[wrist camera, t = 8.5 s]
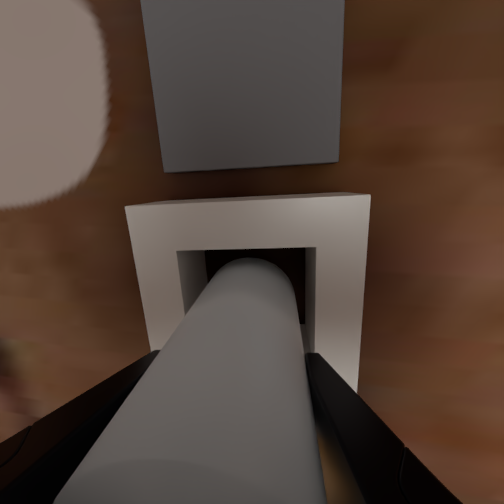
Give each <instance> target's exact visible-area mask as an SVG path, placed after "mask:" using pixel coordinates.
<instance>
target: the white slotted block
mask: <svg viewBox="0 0 504 504" xmlns="http://www.w3.org/2000/svg"><path fill="white" fill-rule="evenodd" d="M370 200H371V195H369V194H359V193H349V192H331V193H311V194H290V195H270V196H250V197H229V198H209V199H188V200H168V201H159V202H152V203H145V204H138V205H131V206H125V211H126V217H127V222H128V228H129V233H130V239H131V244H132V250H133V255H134V261H135V266H136V272H137V277H138V283H139V288H140V294H141V299H142V305H143V310H144V316H145V321H146V327H147V332H148V337H149V343H150V348H151V352H152V351H154V350H161V349H162V348H163V346H164V345H165V344H166V342H167V341H168V339H169V338H170V337H171V335H172V334H173V332H174V331H175V329H176V328H177V327H178V325H179V324H180V322H181V321H182V320H183V318H184V317H185V315H186V314H187V313H188V311H189V310H190V308H191V307H192V306H193V304H194V303H195V301H196V300H197V299H198V297H199V296H200V294H201V293H202V291H203V290H204V289H205V287H206V286H207V284H208V281H207V271H206V261H205V252H204V250H221V249H259V248H298V247H305V324H300V330H301V336H302V342H303V349H304V355H305V354H306V353H307V352H309V353H319V354H320V355H321V356H322V357H323V358H324V359H325V360H326V361H327V362H328V363H329V364H330V365H331V366H332V368H333V369H334V370H335V371H336V372H337V373H338V374H339V375H340V376H341V377H342V378H343V379H344V380H345V381H346V382H347V384H348V385H349V386H350V387H351V388H352V389H353V390H354V391H355V392H356V393H357V383H358V369H359V355H360V341H361V327H362V313H363V299H364V285H365V271H366V257H367V243H368V229H369V214H370Z"/></svg>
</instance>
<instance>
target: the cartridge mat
mask: <svg viewBox="0 0 504 504" xmlns="http://www.w3.org/2000/svg"><path fill="white" fill-rule="evenodd" d="M140 1H141V8H142V15H143V23H144V30H145V37H146V45H147V52H148V59H149V66H150V74H151V81H152V88H153V96H154V103H155V110H156V118H157V125H158V132H159V140H160V147H161V154H162V162H163V169H164V172H165V173H180V172H196V171H213V170H229V169H245V168H262V167H278V166H294V165H311V164H327V163H336V162H339V139H340V112H341V84H342V57H343V30H344V3H345V0H140Z"/></svg>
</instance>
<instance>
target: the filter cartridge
mask: <svg viewBox="0 0 504 504" xmlns="http://www.w3.org/2000/svg"><path fill="white" fill-rule="evenodd" d="M53 504H328V503H327V496H326V490H325V483H324V477H323V471H322V464H321V458H320V451H319V445H318V438H317V432H316V426H315V419H314V413H313V406H312V400H311V394H310V387H309V381H308V374H307V368H306V362H305V355H304V349H303V342H302V336H301V330H300V323H299V317H298V310H297V304H296V297H295V292H294V288H293V285H292V283H291V281H290V280H289V278H288V276H287V275H286V274H285V273H284V272H283V271H282V270H281V269H280V268H279V267H277V266H276V265H274V264H273V263H271V262H269V261H266V260H263V259H259V258H248V257H247V258H240V259H236V260H233V261H230V262H229V263H227V264H225V265H224V266H222V267H221V268H220V269H219V270H218V271H217V272H216V273H215V275H214V276H213V277H212V279H211V280H210V282H209V283H208V284H207V286H206V287H205V289H204V290H203V291H202V293H201V294H200V296H199V297H198V299H197V300H196V301H195V303H194V304H193V306H192V307H191V308H190V310H189V311H188V313H187V314H186V315H185V317H184V318H183V320H182V321H181V322H180V324H179V325H178V327H177V328H176V329H175V331H174V332H173V334H172V335H171V337H170V338H169V339H168V341H167V342H166V344H165V345H164V346H163V348H162V349H161V351H160V352H159V353H158V355H157V356H156V358H155V359H154V360H153V362H152V363H151V365H150V366H149V367H148V369H147V370H146V372H145V373H144V374H143V376H142V377H141V379H140V380H139V382H138V383H137V384H136V386H135V387H134V389H133V390H132V391H131V393H130V394H129V396H128V397H127V398H126V400H125V401H124V403H123V404H122V405H121V407H120V408H119V410H118V411H117V412H116V414H115V415H114V417H113V418H112V420H111V421H110V422H109V424H108V425H107V427H106V428H105V429H104V431H103V432H102V434H101V435H100V436H99V438H98V439H97V441H96V442H95V443H94V445H93V446H92V448H91V449H90V450H89V452H88V453H87V455H86V456H85V457H84V459H83V460H82V462H81V463H80V465H79V466H78V467H77V469H76V470H75V472H74V473H73V474H72V476H71V477H70V479H69V480H68V481H67V483H66V484H65V486H64V487H63V488H62V490H61V491H60V493H59V494H58V495H57V497H56V498H55V501H54V503H53Z"/></svg>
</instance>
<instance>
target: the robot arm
mask: <svg viewBox="0 0 504 504" xmlns="http://www.w3.org/2000/svg"><path fill="white" fill-rule="evenodd" d="M160 351H161V350H154V351H152V352H150V353H149V354H147V355H145V356H144V357H142V358H141V359H139V360H137V361H136V362H134V363H132V364H131V365H129V366H127V367H126V368H124V369H122V370H121V371H119V372H117V373H116V374H114V375H112V376H111V377H109V378H107V379H106V380H104V381H103V382H101V383H99V384H98V385H96V386H94V387H93V388H91V389H89V390H88V391H86V392H84V393H83V394H81V395H79V396H78V397H76V398H74V399H73V400H71V401H69V402H68V403H66V404H65V405H63V406H61V407H60V408H58V409H56V410H55V411H53V412H51V413H50V414H48V415H46V416H45V417H43V418H41V419H40V420H38V421H36V422H35V423H33V425H32V426H28V427H26V428H25V429H23V430H22V431H20V432H18V433H17V434H15V435H13V436H12V437H10V438H8V439H7V440H5V441H3V442H2V443H0V504H53V503H54V501H55V498H56V497H57V495H58V494H59V493H60V491H61V490H62V488H63V487H64V486H65V484H66V483H67V481H68V480H69V479H70V477H71V476H72V474H73V473H74V472H75V470H76V469H77V467H78V466H79V465H80V463H81V462H82V460H83V459H84V457H85V456H86V455H87V453H88V452H89V450H90V449H91V448H92V446H93V445H94V443H95V442H96V441H97V439H98V438H99V436H100V435H101V434H102V432H103V431H104V429H105V428H106V427H107V425H108V424H109V422H110V421H111V420H112V418H113V417H114V415H115V414H116V412H117V411H118V410H119V408H120V407H121V405H122V404H123V403H124V401H125V400H126V398H127V397H128V396H129V394H130V393H131V391H132V390H133V389H134V387H135V386H136V384H137V383H138V382H139V380H140V379H141V377H142V376H143V374H144V373H145V372H146V370H147V369H148V367H149V366H150V365H151V363H152V362H153V360H154V359H155V358H156V356H157V355H158V353H159V352H160ZM305 362H306V368H307V374H308V381H309V387H310V394H311V400H312V406H313V413H314V419H315V426H316V432H317V438H318V445H319V451H320V458H321V464H322V471H323V477H324V483H325V490H326V496H327V503H328V504H463V503H462V502H461V501H460V500H459V499H457V498H456V497H455V496H454V495H453V494H452V493H451V492H450V491H449V490H448V489H447V488H446V487H445V486H444V485H443V484H442V483H441V482H440V481H439V480H438V479H437V478H436V477H435V476H434V475H433V474H432V473H431V472H430V471H429V470H428V468H427V467H426V466H425V465H424V464H423V463H422V462H421V461H420V460H419V459H418V458H417V457H416V456H415V455H414V454H413V453H412V452H411V451H410V450H409V448H407V447H405V445H404V443H403V442H402V441H401V440H400V439H399V438H398V437H397V436H396V435H395V434H394V433H393V432H392V431H391V429H390V428H389V427H388V426H387V425H386V424H385V423H384V422H383V421H382V420H381V419H380V418H379V417H378V416H377V415H376V413H375V412H374V411H373V410H372V409H371V408H370V407H369V406H368V405H367V404H366V403H365V402H364V401H363V400H362V398H361V397H360V396H359V395H358V394H357V393H356V392H355V391H354V390H353V389H352V388H351V387H350V386H349V385H348V384H347V382H346V381H345V380H344V379H343V378H342V377H341V376H340V375H339V374H338V373H337V372H336V371H335V370H334V369H333V368H332V366H331V365H330V364H329V363H328V362H327V361H326V360H325V359H324V358H323V357H322V356H321V355H320V354H319V353H309V352H307V353H306V354H305ZM404 447H405V448H404Z"/></svg>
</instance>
